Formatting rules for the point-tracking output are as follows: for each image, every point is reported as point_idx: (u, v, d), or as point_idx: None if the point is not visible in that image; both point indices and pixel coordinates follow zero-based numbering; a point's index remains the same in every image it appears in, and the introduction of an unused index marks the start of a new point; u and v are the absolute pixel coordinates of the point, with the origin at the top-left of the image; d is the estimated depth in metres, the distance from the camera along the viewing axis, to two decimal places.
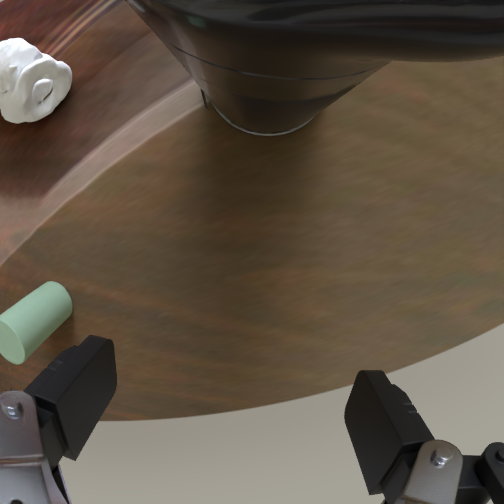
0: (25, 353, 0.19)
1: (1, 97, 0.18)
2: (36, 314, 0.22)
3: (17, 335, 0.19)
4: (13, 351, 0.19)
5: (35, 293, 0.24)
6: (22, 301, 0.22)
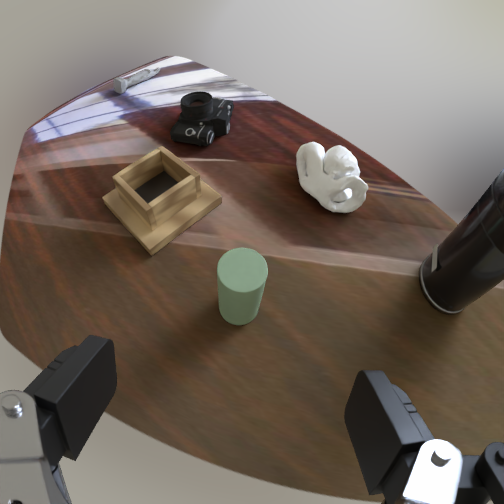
0: (256, 289, 0.26)
1: (320, 172, 0.41)
2: None
3: (267, 273, 0.27)
4: (242, 279, 0.27)
5: None
6: None
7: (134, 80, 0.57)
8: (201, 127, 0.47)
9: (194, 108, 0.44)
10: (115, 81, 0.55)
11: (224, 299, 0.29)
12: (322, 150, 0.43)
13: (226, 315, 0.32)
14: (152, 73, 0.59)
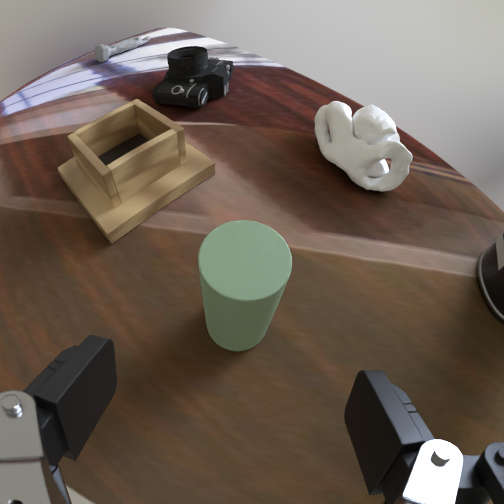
0: (272, 295, 0.14)
1: (350, 136, 0.29)
2: None
3: (291, 266, 0.15)
4: (245, 275, 0.14)
5: None
6: None
7: (119, 47, 0.45)
8: (192, 85, 0.34)
9: (183, 61, 0.32)
10: (97, 48, 0.43)
11: (212, 312, 0.16)
12: (349, 110, 0.31)
13: (217, 337, 0.20)
14: (140, 41, 0.48)
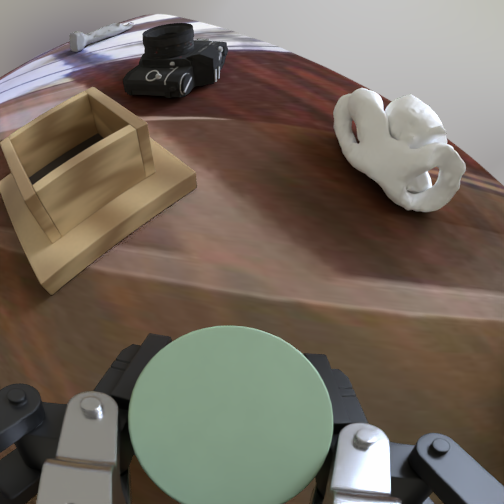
0: (289, 498, 0.05)
1: (386, 135, 0.20)
2: None
3: (332, 433, 0.06)
4: (231, 465, 0.05)
5: None
6: None
7: (96, 35, 0.36)
8: (172, 69, 0.25)
9: (161, 39, 0.23)
10: (71, 36, 0.34)
11: None
12: (381, 101, 0.22)
13: None
14: (122, 27, 0.39)
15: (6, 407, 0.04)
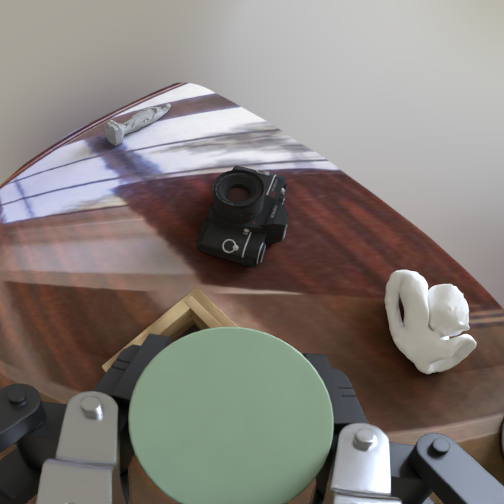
0: (290, 499, 0.05)
1: (425, 328, 0.26)
2: None
3: (332, 435, 0.06)
4: (232, 466, 0.05)
5: None
6: None
7: (134, 125, 0.42)
8: (247, 236, 0.32)
9: (237, 208, 0.29)
10: (107, 127, 0.40)
11: None
12: (427, 289, 0.28)
13: None
14: (160, 113, 0.45)
15: (6, 407, 0.04)
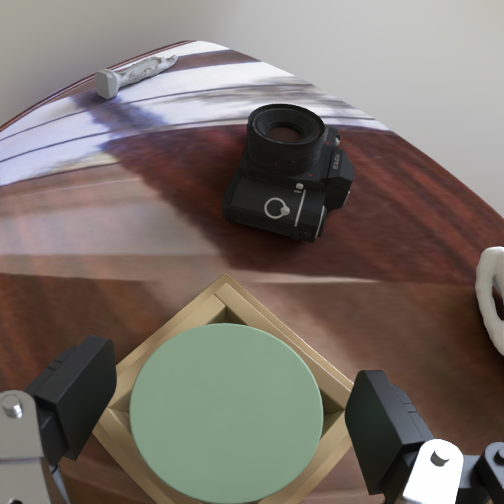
0: (281, 488, 0.05)
1: None
2: None
3: None
4: (225, 455, 0.06)
5: None
6: None
7: (133, 75, 0.31)
8: (300, 195, 0.20)
9: (290, 148, 0.18)
10: (98, 76, 0.29)
11: None
12: None
13: None
14: (165, 64, 0.34)
15: None
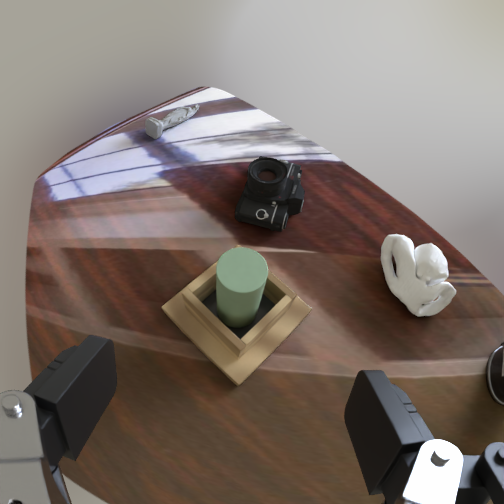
0: (256, 289, 0.26)
1: (413, 276, 0.36)
2: None
3: (267, 274, 0.26)
4: (242, 279, 0.26)
5: None
6: None
7: (171, 122, 0.51)
8: (274, 207, 0.41)
9: (268, 185, 0.39)
10: (148, 122, 0.49)
11: (223, 300, 0.28)
12: (413, 248, 0.37)
13: (224, 317, 0.31)
14: (191, 112, 0.54)
15: None
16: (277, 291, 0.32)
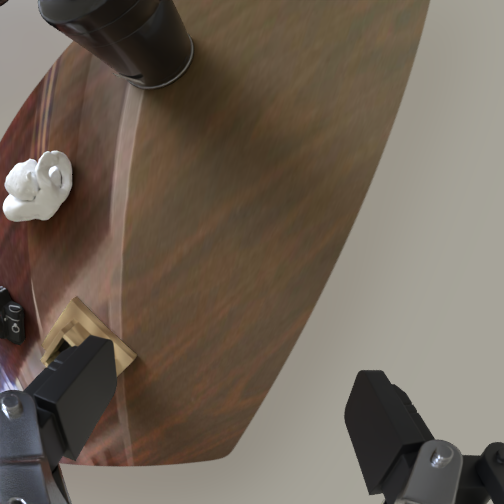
0: None
1: (34, 203, 0.32)
2: None
3: None
4: None
5: None
6: None
7: None
8: (8, 318, 0.37)
9: None
10: None
11: None
12: (11, 200, 0.31)
13: None
14: None
15: None
16: (62, 338, 0.35)
